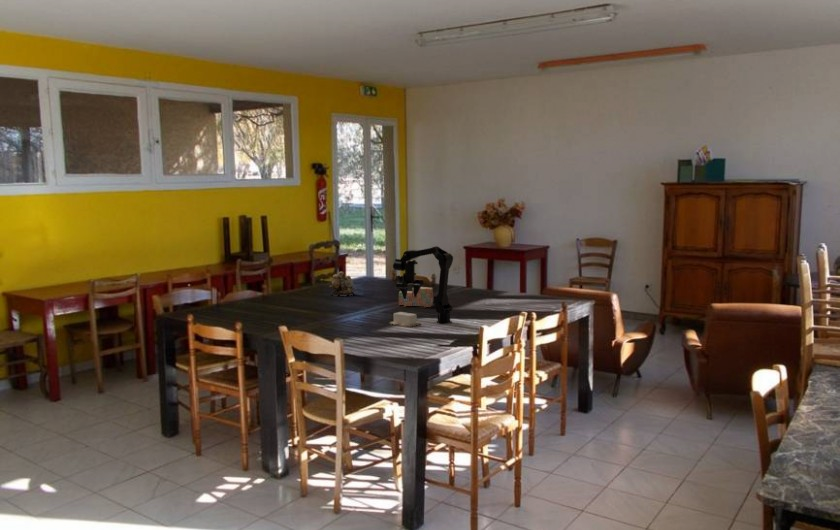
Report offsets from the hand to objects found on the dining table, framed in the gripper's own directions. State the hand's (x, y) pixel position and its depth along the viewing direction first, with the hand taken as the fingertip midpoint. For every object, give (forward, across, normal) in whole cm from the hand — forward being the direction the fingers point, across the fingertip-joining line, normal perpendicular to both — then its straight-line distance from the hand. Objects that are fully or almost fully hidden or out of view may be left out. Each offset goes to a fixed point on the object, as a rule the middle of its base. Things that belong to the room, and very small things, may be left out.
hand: (409, 297), depth 419 cm
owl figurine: (+12, -31, -90) cm, 96 cm away
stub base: (+12, +16, +10) cm, 22 cm away
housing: (+11, +16, +10) cm, 22 cm away
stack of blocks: (+12, -31, -22) cm, 40 cm away
